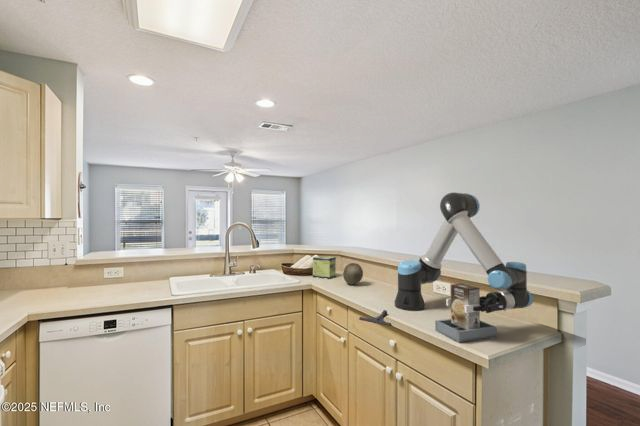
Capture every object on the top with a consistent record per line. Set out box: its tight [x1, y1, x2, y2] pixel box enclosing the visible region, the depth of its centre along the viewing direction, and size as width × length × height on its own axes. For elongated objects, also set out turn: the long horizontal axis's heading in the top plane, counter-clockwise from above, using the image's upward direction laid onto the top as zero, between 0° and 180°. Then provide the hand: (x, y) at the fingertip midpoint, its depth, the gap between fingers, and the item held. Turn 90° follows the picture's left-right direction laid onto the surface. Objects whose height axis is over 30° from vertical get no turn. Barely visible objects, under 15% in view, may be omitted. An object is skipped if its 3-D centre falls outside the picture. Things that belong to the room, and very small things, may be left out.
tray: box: [434, 318, 497, 344], centre depth 121 cm, size 13×18×4 cm
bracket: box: [358, 309, 392, 327], centre depth 139 cm, size 14×15×3 cm
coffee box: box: [450, 282, 481, 330], centre depth 121 cm, size 9×6×16 cm
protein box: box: [312, 256, 337, 280], centre depth 237 cm, size 10×16×16 cm
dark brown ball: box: [342, 262, 364, 286], centre depth 209 cm, size 14×14×15 cm
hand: (455, 305), depth 119 cm, fingers closed on coffee box, 9 cm apart
